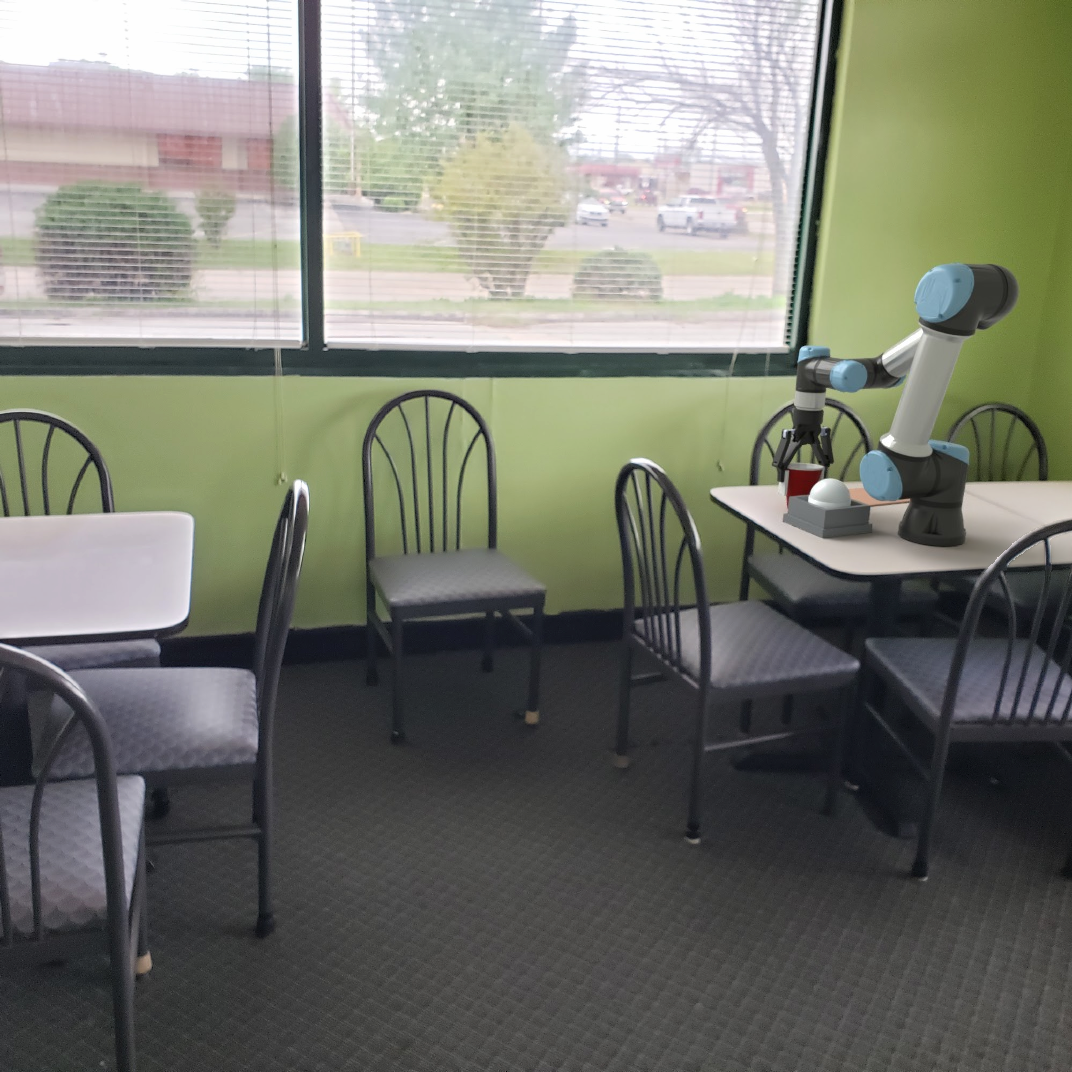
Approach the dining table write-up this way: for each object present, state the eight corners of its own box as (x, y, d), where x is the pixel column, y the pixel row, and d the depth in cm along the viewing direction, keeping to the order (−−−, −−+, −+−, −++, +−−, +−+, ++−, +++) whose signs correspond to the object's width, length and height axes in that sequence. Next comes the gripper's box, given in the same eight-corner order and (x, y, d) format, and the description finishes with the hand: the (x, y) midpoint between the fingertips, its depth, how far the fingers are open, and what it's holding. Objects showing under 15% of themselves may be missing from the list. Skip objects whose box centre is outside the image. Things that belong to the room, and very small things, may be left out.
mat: (915, 501, 277) (915, 500, 277) (869, 506, 271) (869, 505, 271) (874, 487, 291) (874, 486, 291) (829, 492, 285) (829, 490, 285)
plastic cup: (816, 504, 271) (820, 460, 268) (823, 515, 261) (828, 469, 257) (774, 502, 272) (778, 458, 269) (779, 513, 262) (784, 467, 258)
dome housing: (871, 531, 247) (874, 506, 245) (822, 537, 241) (825, 511, 239) (830, 516, 260) (833, 491, 258) (782, 521, 254) (785, 496, 252)
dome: (857, 520, 248) (862, 482, 245) (824, 524, 244) (829, 485, 241) (830, 510, 256) (834, 472, 254) (798, 513, 252) (802, 475, 250)
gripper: (835, 403, 267) (826, 485, 273) (762, 407, 257) (754, 492, 264) (854, 408, 260) (845, 492, 266) (780, 412, 251) (772, 499, 257)
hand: (800, 492), depth 265 cm, fingers closed on plastic cup, 11 cm apart
